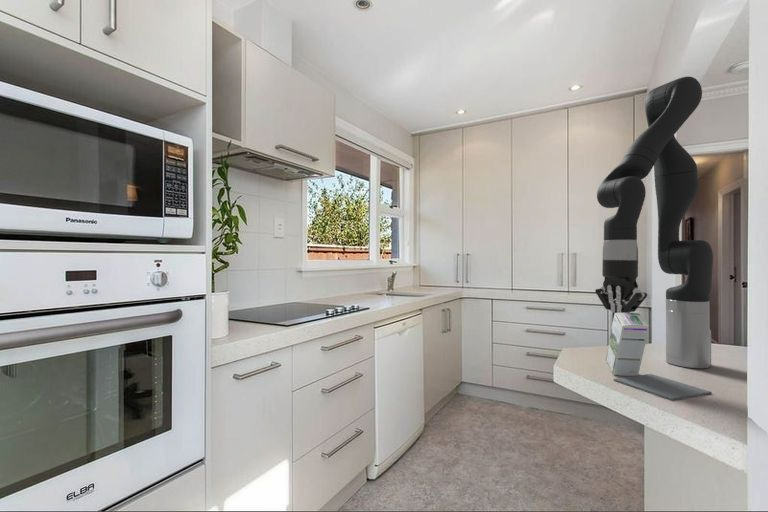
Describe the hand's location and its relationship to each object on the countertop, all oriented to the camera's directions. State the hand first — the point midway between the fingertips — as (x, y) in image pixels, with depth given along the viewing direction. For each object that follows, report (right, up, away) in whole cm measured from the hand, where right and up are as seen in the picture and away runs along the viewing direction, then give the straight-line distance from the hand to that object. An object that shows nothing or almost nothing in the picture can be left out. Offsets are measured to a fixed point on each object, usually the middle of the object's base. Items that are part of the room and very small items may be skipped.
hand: (619, 328), depth 95 cm
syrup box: (0, -10, 0) cm, 10 cm away
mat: (+3, -11, -10) cm, 15 cm away
